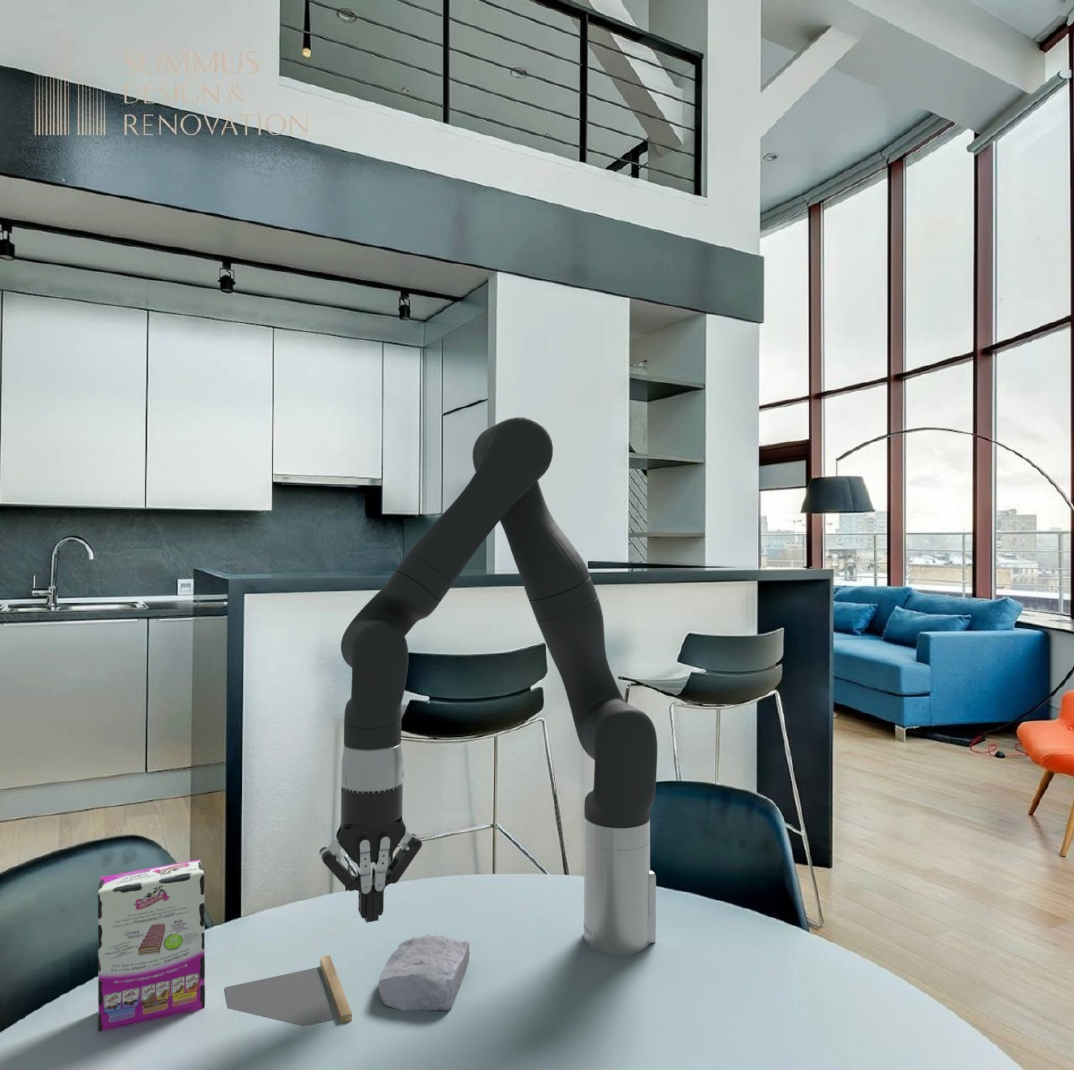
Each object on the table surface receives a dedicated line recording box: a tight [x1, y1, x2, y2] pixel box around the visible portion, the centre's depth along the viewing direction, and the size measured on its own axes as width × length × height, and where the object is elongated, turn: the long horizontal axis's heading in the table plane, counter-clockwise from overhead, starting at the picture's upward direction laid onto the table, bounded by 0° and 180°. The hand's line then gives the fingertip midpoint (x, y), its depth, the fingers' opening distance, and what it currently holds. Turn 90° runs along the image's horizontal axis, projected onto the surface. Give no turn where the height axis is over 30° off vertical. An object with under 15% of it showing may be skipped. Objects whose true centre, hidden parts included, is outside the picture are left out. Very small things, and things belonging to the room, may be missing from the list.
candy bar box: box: [97, 859, 206, 1032], centre depth 92 cm, size 11×5×16 cm, turn 117°
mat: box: [224, 967, 335, 1027], centre depth 94 cm, size 11×12×1 cm
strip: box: [319, 955, 353, 1024], centre depth 97 cm, size 1×14×1 cm, turn 25°
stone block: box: [378, 934, 471, 1012], centre depth 99 cm, size 12×5×10 cm
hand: (370, 918), depth 99 cm, fingers closed
